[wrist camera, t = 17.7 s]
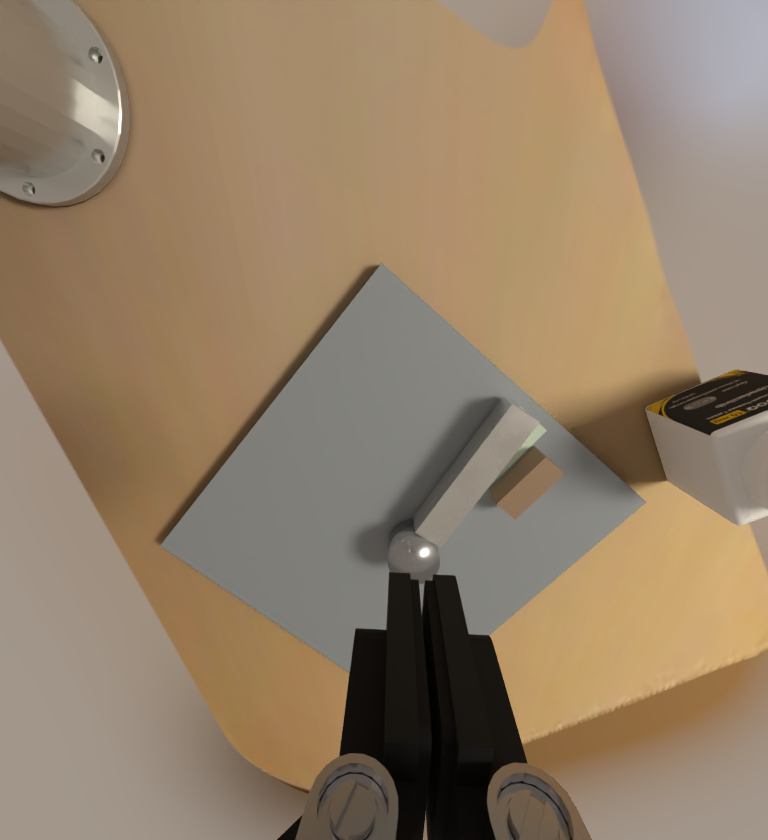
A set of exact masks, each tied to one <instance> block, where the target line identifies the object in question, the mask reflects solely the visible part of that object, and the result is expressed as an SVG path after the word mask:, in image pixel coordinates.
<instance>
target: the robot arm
mask: <svg viewBox="0 0 768 840" xmlns="http://www.w3.org/2000/svg"><path fill="white" fill-rule="evenodd" d="M129 131H130V107H129V101H128V95H127V89H126V84H125V81H124V78H123V75H122V72H121V69H120V66H119V63H118V61H117V59H116V57H115V55H114V53H113V51H112V49H111V47H110V45H109V43H108V42H107V40H106V39H105V37H104V36H103V34H102V33H101V31H100V30H99V29H98V27H97V26H96V24H95V23H94V22H93V21H92V20H91V19H90V18H89V17H88V16H87V15H86V14H85V12H84V11H83V10H82V9H81V8H80V7H79V6H78V5H77V4H75V3H74V2H73V1H72V0H0V191H2V192H4V193H6V194H8V195H10V196H13V197H15V198H17V199H20V200H24V201H27V202H31V203H34V204H39V205H46V206H53V207H55V206H68V205H73V204H76V203H79V202H82V201H86V200H87V199H89V198H91V197H92V196H94V195H95V194H97V193H99V192H100V191H101V190H102V189H103V188H104V187H105V186H106V185H107V184H108V183H109V182H110V181H111V180H112V178H113V176H114V175H115V173H116V172H117V170H118V169H119V167H120V165H121V162H122V160H123V157H124V154H125V151H126V149H127V143H128V137H129ZM425 812H426V819H427V837H428V840H592V839H591V837H590V835H589V833H588V831H587V829H586V826H585V824H584V822H583V820H582V818H581V816H580V814H579V812H578V810H577V808H576V806H575V805H574V803H573V802H572V800H571V798H570V796H569V795H568V793H567V792H566V791H565V789H564V788H562V786H560V784H559V783H558V782H557V781H556V780H555V779H554V778H553V777H552V776H550V775H549V774H547V773H546V772H544V771H543V770H542V769H540V768H537V767H535V766H532V765H529V764H528V763H527V760H526V757H525V753H524V750H523V746H522V743H521V739H520V736H519V732H518V729H517V725H516V722H515V718H514V715H513V712H512V708H511V705H510V701H509V698H508V694H507V691H506V687H505V684H504V680H503V677H502V673H501V670H500V667H499V663H498V660H497V656H496V653H495V649H494V646H493V643H492V640H491V638H490V636H489V635H475V634H469V633H468V629H467V624H466V620H465V615H464V611H463V606H462V602H461V597H460V593H459V588H458V584H457V579H456V576H455V575H437V574H434V575H433V578H432V580H425V583H424V594H423V607H422V612H421V601H420V589H419V580H415V579H411V575H410V573H397V572H389V583H388V604H387V624H386V630H381V629H362V628H356V629H355V635H354V643H353V651H352V659H351V667H350V675H349V683H348V691H347V699H346V707H345V715H344V723H343V732H342V740H341V748H340V756H339V757H337V758H336V759H334V760H333V761H331V762H330V763H328V764H327V765H326V766H325V767H324V768H323V770H322V771H321V772H320V773H319V774H318V776H317V777H316V779H315V781H314V783H313V786H312V788H311V790H310V792H309V796H308V799H307V803H306V806H305V809H304V812H303V815H302V816H301V817H300V818H299V819H298V820H297V821H296V822H295V823H294V824H293V825H292V826H291V827H290V828H289V829H288V830H287V831H286V832H285V833H283V834H282V835H281V836H280V837H279V838H278V839H277V840H423V831H424V822H425Z"/></svg>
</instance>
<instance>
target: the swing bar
mask: <svg viewBox="0 0 768 840" xmlns="http://www.w3.org/2000/svg"><path fill="white" fill-rule="evenodd" d="M539 423H540V422H539V421H537V420H536V419H535V418H534V417H533V416H531V415H530V414H529V413H527V412H526V411H524V410H523V409H521V408H520V407H518V406H517V405H515V404H514V403H512V402H511V401H509V400H508V399H506V398H504V397H502V398H501V400H500V401H499V402H498V404H497V405H496V406H495V408H494V409H493V410H492V412H491V413H490V414H489V416H488V417H487V419H486V420H485V421H484V423H483V424H482V425H481V427H480V428H479V429H478V431H477V432H476V433H475V435H474V436H473V437H472V439H471V440H470V441H469V443H468V444H467V445H466V447H465V448H464V449H463V451H462V452H461V453H460V455H459V456H458V457H457V459H456V460H455V461H454V463H453V464H452V466H451V467H450V468H449V470H448V471H447V472H446V474H445V475H444V476H443V478H442V479H441V480H440V482H439V483H438V484H437V486H436V487H435V488H434V490H433V491H432V492H431V494H430V495H429V496H428V498H427V499H426V500H425V502H424V503H423V504H422V506H421V507H420V508H419V510H418V511H417V512H416V514H415V515H414V519H411V520H405V521H402V522H400V523H398V524H397V525H396V526H394V527H393V529H392V530H391V532H390V534H389V539H388V568H389V571H390V572H397V573H410V575H411V579H415V580H419V585H420V584H423V583H425V580H431V579H432V578H433V575H434V574H437V572H438V570H439V567H440V558H439V553H438V547H440V548H441V547H442V546H443V545H444V543H445V542H446V541H447V540H448V538H449V537H450V536H451V535H452V533H453V532H454V531H455V529H456V528H457V527H458V526H459V524H460V523H461V522H462V521H463V519H464V518H465V517H466V516H467V514H468V513H469V512H470V510H471V509H472V508H473V507H474V505H475V504H476V503H477V502H478V500H479V499H480V498H481V497H482V495H483V494H484V493H485V491H486V490H487V489H488V488H489V486H490V485H491V484H492V483H493V481H494V480H495V479H496V478H497V476H498V475H499V474H500V472H501V471H502V470H503V469H504V467H505V466H506V465H507V464H508V462H509V461H510V460H511V459H512V457H513V456H514V455H515V454H516V452H517V451H518V450H519V448H520V447H521V446H522V445H523V443H524V442H525V441H526V440H527V438H528V437H529V436H530V435H531V433H532V432H533V431H534V429H535V428H536V427H537V426H538V424H539ZM437 546H438V547H437Z"/></svg>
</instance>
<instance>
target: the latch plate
mask: <svg viewBox="0 0 768 840" xmlns="http://www.w3.org/2000/svg"><path fill="white" fill-rule="evenodd" d="M502 397H504V398H506V399H508V400H509V401H511V402H512V403H514V404H515V405H517V406H518V407H520V408H521V409H523V410H524V411H526V412H527V413H529V414H530V415H531V416H533V417H534V418H535V419H536V420H537V421H539V422H540V423H539V424H538V426H537V427H536V428H535V429H534V431H533V432H532V433H531V435H530V436H529V437H528V438H527V440H526V441H525V442H524V443H523V445H522V446H521V447H520V448H519V450H518V451H517V452H516V454H515V455H514V456H513V457H512V459H511V460H510V461H509V462H508V464H507V465H506V466H505V467H504V469H503V470H502V471H501V472H500V474H499V475H498V476H497V478H496V479H495V480H494V481H493V483H492V484H491V485H490V486H489V488H488V489H487V490H486V491H485V493H484V494H483V495H482V497H481V498H480V499H479V500H478V502H477V503H476V504H475V505H474V507H473V508H472V509H471V510H470V512H469V513H468V514H467V516H466V517H465V518H464V519H463V521H462V522H461V523H460V524H459V526H458V527H457V528H456V529H455V531H454V532H453V533H452V535H451V536H450V537H449V538H448V540H447V541H446V542H445V543H444V545H443V546H442V547H441V548H440V547H438V546H437V547H438V553H439V558H440V567H439V570H438V572H437V575H455V576H456V579H457V584H458V588H459V593H460V597H461V602H462V606H463V611H464V615H465V620H466V624H467V629H468V633H469V634H475V635H490V634H491V633H493V632H494V631H495V630H496V629H497V628H498V627H500V626H501V625H502V624H503V623H504V622H506V621H507V620H508V619H509V618H510V617H511V616H513V615H514V614H515V613H516V612H517V611H519V610H520V609H521V608H522V607H523V606H524V605H526V604H527V603H528V602H529V601H530V600H531V599H533V598H534V597H535V596H536V595H537V594H539V593H540V592H541V591H542V590H543V589H544V588H546V587H547V586H548V585H549V584H550V583H552V582H553V581H554V580H555V579H556V578H557V577H559V576H560V575H561V574H562V573H563V572H565V571H566V570H567V569H568V568H569V567H570V566H572V565H573V564H574V563H575V562H576V561H578V560H579V559H580V558H581V557H582V556H583V555H585V554H586V553H587V552H588V551H589V550H591V549H592V548H593V547H594V546H595V545H596V544H598V543H599V542H600V541H601V540H602V539H603V538H605V537H606V536H607V535H608V534H609V533H611V532H612V531H613V530H614V529H615V528H616V527H618V526H619V525H620V524H621V523H622V522H624V521H625V520H626V519H627V518H628V517H629V516H631V515H632V514H633V513H634V512H635V511H637V510H638V509H639V508H640V507H641V506H642V505H644V504H645V503H646V501H645V500H644V499H642V498H641V497H640V496H639V495H638V494H637V493H636V492H635V491H634V490H633V489H631V488H630V487H629V486H628V485H627V484H626V483H625V482H624V481H623V480H621V479H620V478H619V477H618V476H617V475H616V474H615V473H614V472H613V471H611V470H610V469H609V468H608V467H607V466H606V465H605V464H604V463H603V462H601V461H600V460H599V459H598V458H597V457H596V456H595V455H594V454H593V453H592V452H590V451H589V450H588V449H587V448H586V447H585V446H584V445H583V444H582V443H580V442H579V441H578V440H577V439H576V438H575V437H574V436H573V435H572V434H570V433H569V432H568V431H567V430H566V429H565V428H564V427H563V426H562V425H561V424H559V423H558V422H557V421H556V420H555V419H554V418H553V417H552V416H551V415H549V414H548V413H547V412H546V411H545V410H544V409H543V408H542V407H541V406H539V405H538V404H537V403H536V402H535V401H534V400H533V399H532V398H531V397H530V396H528V395H527V394H526V393H525V392H524V391H523V390H522V389H521V388H520V387H518V386H517V385H516V384H515V383H514V382H513V381H512V380H511V379H510V378H508V377H507V376H506V375H505V374H504V373H503V372H502V371H501V370H500V369H498V368H497V367H496V366H495V365H494V364H493V363H492V362H491V361H490V360H489V359H487V358H486V357H485V356H484V355H483V354H482V353H481V352H480V351H479V350H477V349H476V348H475V347H474V346H473V345H472V344H471V343H470V342H469V341H467V340H466V339H465V338H464V337H463V336H462V335H461V334H460V333H459V332H458V331H456V330H455V329H454V328H453V327H452V326H451V325H450V324H449V323H448V322H446V321H445V320H444V319H443V318H442V317H441V316H440V315H439V314H438V313H436V312H435V311H434V310H433V309H432V308H431V307H430V306H429V305H428V304H427V303H425V302H424V301H423V300H422V299H421V298H420V297H419V296H418V295H417V294H415V293H414V292H413V291H412V290H411V289H410V288H409V287H408V286H407V285H405V284H404V283H403V282H402V281H401V280H400V279H399V278H398V277H397V276H395V275H394V274H393V273H392V272H391V271H390V270H389V269H388V268H387V267H386V266H384V265H383V264H382V263H381V265H380V266H379V267H378V268H377V270H376V271H375V272H374V273H373V275H372V276H371V277H370V279H369V280H368V281H367V282H366V284H365V285H364V286H363V287H362V289H361V290H360V291H359V293H358V294H357V295H356V296H355V298H354V299H353V300H352V302H351V303H350V304H349V305H348V307H347V308H346V309H345V310H344V312H343V313H342V314H341V316H340V317H339V318H338V319H337V321H336V322H335V323H334V324H333V326H332V327H331V328H330V330H329V331H328V332H327V333H326V335H325V336H324V337H323V339H322V340H321V341H320V342H319V344H318V345H317V346H316V347H315V349H314V350H313V351H312V353H311V354H310V355H309V356H308V358H307V359H306V360H305V361H304V363H303V364H302V365H301V367H300V368H299V369H298V370H297V372H296V373H295V374H294V376H293V377H292V378H291V379H290V381H289V382H288V383H287V384H286V386H285V387H284V388H283V390H282V391H281V392H280V393H279V395H278V396H277V397H276V398H275V400H274V401H273V402H272V404H271V405H270V406H269V407H268V409H267V410H266V411H265V413H264V414H263V415H262V416H261V418H260V419H259V420H258V421H257V423H256V424H255V425H254V427H253V428H252V429H251V430H250V432H249V433H248V434H247V436H246V437H245V438H244V439H243V441H242V442H241V443H240V444H239V446H238V447H237V448H236V450H235V451H234V452H233V453H232V455H231V456H230V457H229V458H228V460H227V461H226V462H225V464H224V465H223V466H222V467H221V469H220V470H219V471H218V473H217V474H216V475H215V476H214V478H213V479H212V480H211V481H210V483H209V484H208V485H207V487H206V488H205V489H204V490H203V492H202V493H201V494H200V495H199V497H198V498H197V499H196V501H195V502H194V503H193V504H192V506H191V507H190V508H189V510H188V511H187V512H186V513H185V515H184V516H183V517H182V518H181V520H180V521H179V522H178V524H177V525H176V526H175V527H174V529H173V530H172V531H171V532H170V534H169V535H168V536H167V538H166V539H165V540H164V541H163V543H162V544H161V545H160V546H161V547H162V548H164V549H165V550H167V551H168V552H170V553H171V554H173V555H174V556H176V557H177V558H179V559H180V560H182V561H183V562H185V563H186V564H188V565H189V566H191V567H192V568H194V569H195V570H197V571H198V572H200V573H201V574H203V575H204V576H206V577H207V578H209V579H210V580H212V581H213V582H215V583H216V584H218V585H219V586H221V587H222V588H224V589H225V590H227V591H228V592H230V593H231V594H233V595H234V596H236V597H237V598H239V599H240V600H242V601H243V602H245V603H246V604H248V605H249V606H251V607H252V608H254V609H255V610H257V611H258V612H260V613H261V614H263V615H264V616H266V617H267V618H268V619H270V620H271V621H273V622H274V623H276V624H277V625H279V626H280V627H282V628H283V629H285V630H286V631H288V632H289V633H291V634H292V635H294V636H295V637H297V638H298V639H300V640H301V641H303V642H304V643H306V644H307V645H309V646H310V647H312V648H313V649H315V650H316V651H318V652H319V653H321V654H322V655H324V656H325V657H327V658H328V659H330V660H331V661H333V662H334V663H336V664H337V665H339V666H340V667H342V668H343V669H345V670H346V671H348V672H349V673H350V667H351V659H352V651H353V643H354V635H355V629H356V628H362V629H381V630H386V624H387V604H388V583H389V572H390V571H389V568H388V539H389V534H390V532H391V530H392V529H393V527H394V526H396V525H397V524H398V523H400V522H402V521H405V520H411V519H414V515H415V514H416V512H417V511H418V510H419V508H420V507H421V506H422V504H423V503H424V502H425V500H426V499H427V498H428V496H429V495H430V494H431V492H432V491H433V490H434V488H435V487H436V486H437V484H438V483H439V482H440V480H441V479H442V478H443V476H444V475H445V474H446V472H447V471H448V470H449V468H450V467H451V466H452V464H453V463H454V461H455V460H456V459H457V457H458V456H459V455H460V453H461V452H462V451H463V449H464V448H465V447H466V445H467V444H468V443H469V441H470V440H471V439H472V437H473V436H474V435H475V433H476V432H477V431H478V429H479V428H480V427H481V425H482V424H483V423H484V421H485V420H486V419H487V417H488V416H489V414H490V413H491V412H492V410H493V409H494V408H495V406H496V405H497V404H498V402H499V401H500V400H501V398H502ZM431 580H432V579H431ZM419 589H420V601H421V612H422V607H423V594H424V583H423V584H420V585H419Z"/></svg>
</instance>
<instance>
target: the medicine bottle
mask: <svg viewBox="0 0 768 840" xmlns="http://www.w3.org/2000/svg"><path fill="white" fill-rule="evenodd" d="M645 411H646V414H647V418H648V421H649V424H650V427H651V430H652V434H653V437H654V440H655V443H656V446H657V450H658V453H659V456H660V459H661V462H662V466H663V469H664V472H665V475H666V478H667V480H668V481H669V482H670V483H672V484H673V485H675V486H676V487H678V488H679V489H681V490H682V491H684V492H686V493H687V494H689V495H690V496H692V497H693V498H695V499H696V500H698V501H700V502H701V503H703V504H704V505H706V506H707V507H709V508H710V509H712V510H714V511H715V512H717V513H718V514H720V515H721V516H723V517H724V518H726V519H728V520H729V521H731V522H732V523H734V524H736V525H743V524H746V523H749V522H751V521H754V520H757V519H760V518H762V517H765V516H768V375H763V374H758V373H753V372H747V371H742V370H733V371H730V372H728V373H726V374H723V375H721V376H718V377H716V378H714V379H711V380H709V381H706V382H704V383H701V384H699V385H697V386H694V387H692V388H689V389H687V390H685V391H682V392H680V393H677V394H675V395H673V396H670V397H668V398H665V399H663V400H661V401H658V402H656V403H653V404H651V405H649V406H647V407H646V409H645Z"/></svg>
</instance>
